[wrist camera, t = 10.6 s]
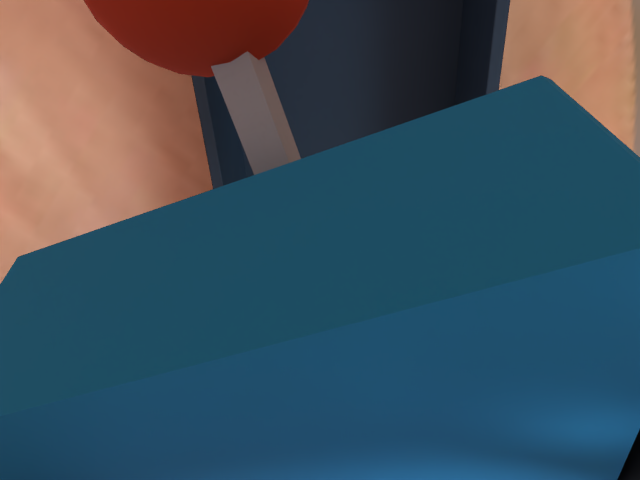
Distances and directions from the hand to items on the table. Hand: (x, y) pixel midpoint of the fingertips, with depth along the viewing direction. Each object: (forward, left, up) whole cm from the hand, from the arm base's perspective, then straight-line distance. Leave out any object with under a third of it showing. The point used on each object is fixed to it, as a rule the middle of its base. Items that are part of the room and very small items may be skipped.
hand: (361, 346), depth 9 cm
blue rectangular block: (0, 0, -2) cm, 2 cm away
